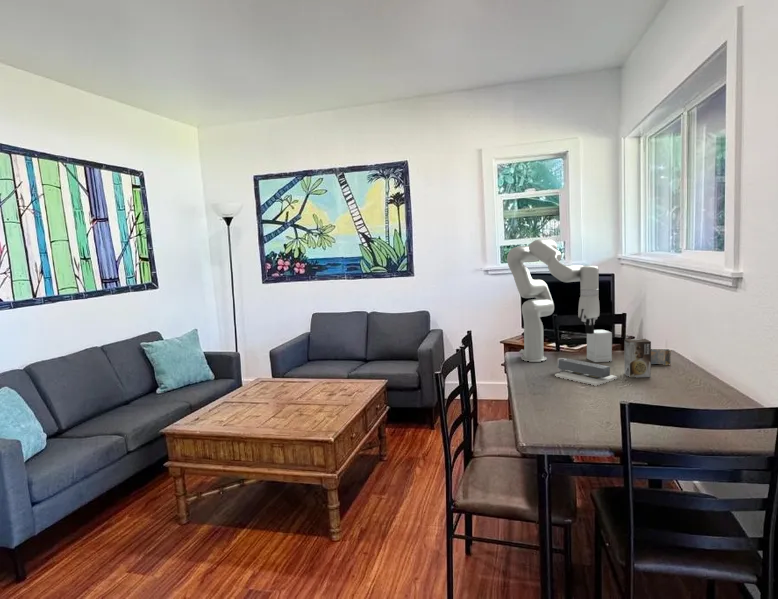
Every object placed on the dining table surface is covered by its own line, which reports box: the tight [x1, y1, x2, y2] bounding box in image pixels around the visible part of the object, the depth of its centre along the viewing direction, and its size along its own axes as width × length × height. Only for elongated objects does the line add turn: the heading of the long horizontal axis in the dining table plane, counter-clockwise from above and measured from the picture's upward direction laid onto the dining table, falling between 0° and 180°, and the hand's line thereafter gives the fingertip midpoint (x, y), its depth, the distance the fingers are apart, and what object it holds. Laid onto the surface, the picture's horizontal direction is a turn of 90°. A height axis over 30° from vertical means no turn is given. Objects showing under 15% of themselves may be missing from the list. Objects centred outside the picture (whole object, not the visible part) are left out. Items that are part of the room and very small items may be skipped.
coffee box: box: [623, 338, 652, 378], centre depth 209 cm, size 9×6×16 cm
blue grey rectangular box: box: [651, 348, 672, 366], centre depth 227 cm, size 11×3×10 cm, turn 75°
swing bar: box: [557, 357, 611, 378], centre depth 212 cm, size 24×5×4 cm, turn 34°
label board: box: [554, 368, 618, 387], centre depth 212 cm, size 23×16×2 cm
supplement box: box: [586, 329, 613, 363], centre depth 240 cm, size 9×9×15 cm
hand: (589, 333), depth 215 cm, fingers closed
